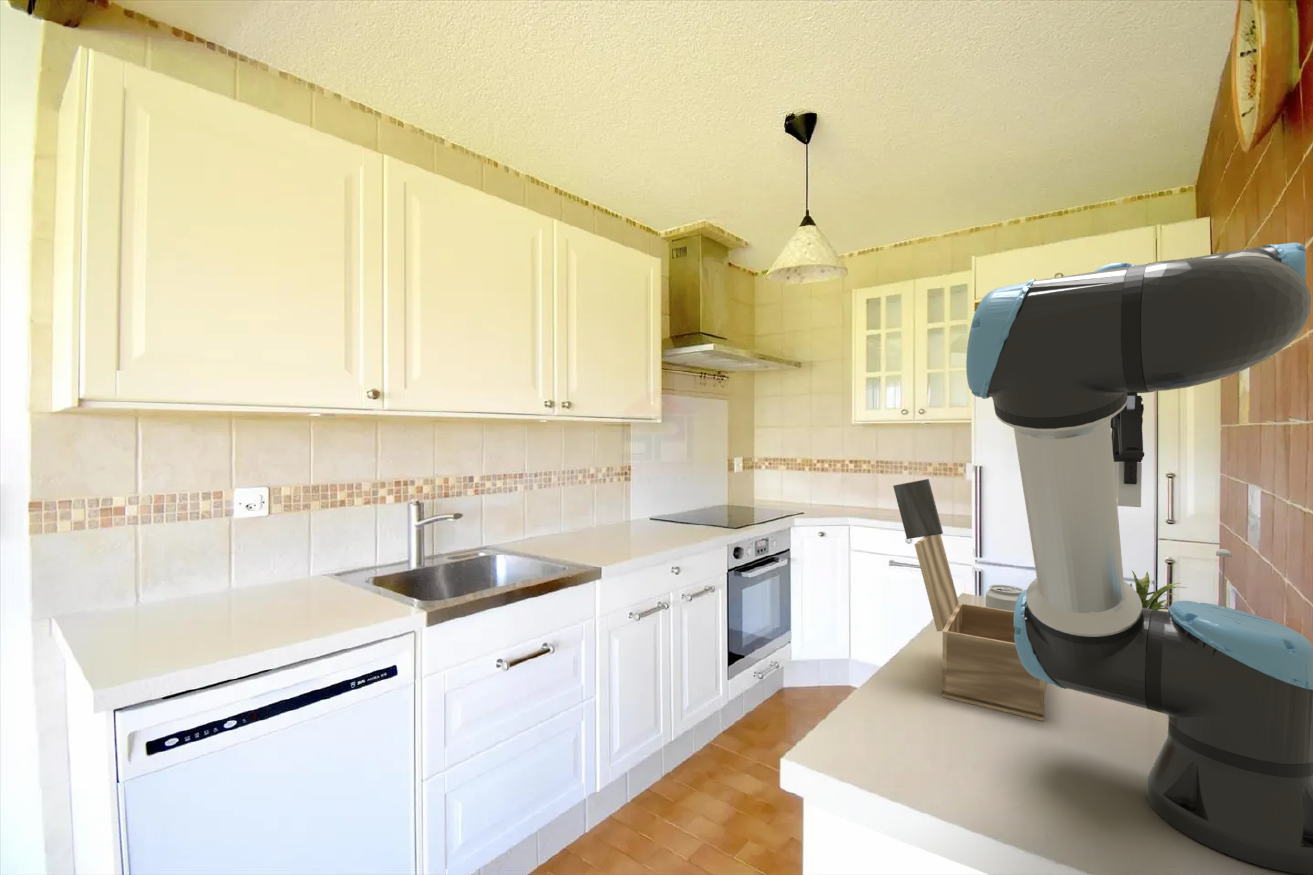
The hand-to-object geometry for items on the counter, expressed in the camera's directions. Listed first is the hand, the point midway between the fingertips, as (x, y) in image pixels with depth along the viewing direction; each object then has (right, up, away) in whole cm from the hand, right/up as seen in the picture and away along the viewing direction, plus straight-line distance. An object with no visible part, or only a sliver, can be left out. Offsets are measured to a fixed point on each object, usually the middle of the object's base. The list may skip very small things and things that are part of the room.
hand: (1124, 502), depth 92 cm
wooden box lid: (-22, -9, +13) cm, 27 cm away
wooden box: (-16, -33, +8) cm, 37 cm away
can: (-2, -33, +28) cm, 43 cm away
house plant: (+23, -33, +24) cm, 47 cm away
